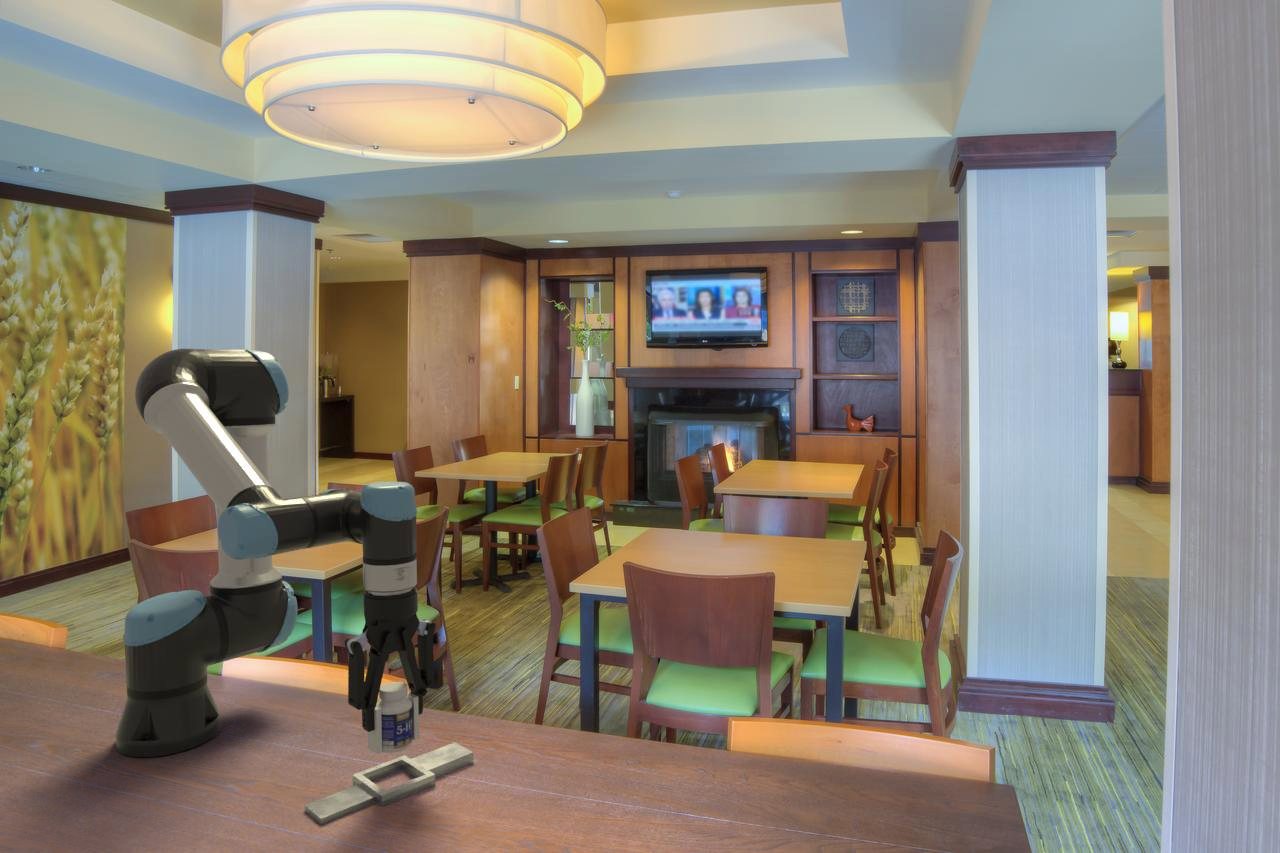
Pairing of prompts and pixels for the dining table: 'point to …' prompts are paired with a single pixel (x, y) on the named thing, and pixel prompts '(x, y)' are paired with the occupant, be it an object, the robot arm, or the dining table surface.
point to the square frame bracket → (369, 793)
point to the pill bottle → (395, 717)
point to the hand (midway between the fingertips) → (393, 743)
